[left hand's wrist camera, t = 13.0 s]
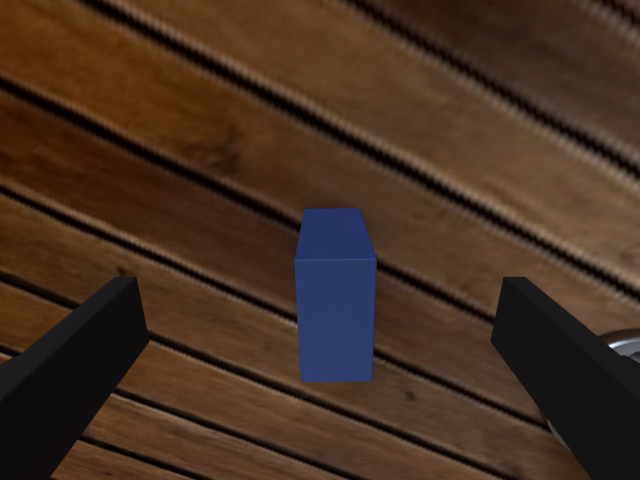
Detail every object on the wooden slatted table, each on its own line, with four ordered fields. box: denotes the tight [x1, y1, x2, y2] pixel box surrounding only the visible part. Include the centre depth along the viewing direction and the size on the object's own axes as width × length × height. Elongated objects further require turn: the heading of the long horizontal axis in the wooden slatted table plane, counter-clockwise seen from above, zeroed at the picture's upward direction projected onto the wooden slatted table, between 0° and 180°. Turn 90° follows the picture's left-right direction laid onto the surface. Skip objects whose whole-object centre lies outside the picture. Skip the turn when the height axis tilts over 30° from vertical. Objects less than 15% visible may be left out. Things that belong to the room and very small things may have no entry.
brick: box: [294, 208, 377, 382], centre depth 26 cm, size 9×5×11 cm, turn 1°
